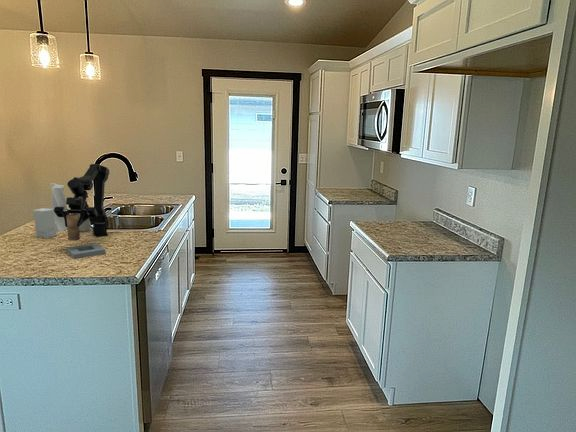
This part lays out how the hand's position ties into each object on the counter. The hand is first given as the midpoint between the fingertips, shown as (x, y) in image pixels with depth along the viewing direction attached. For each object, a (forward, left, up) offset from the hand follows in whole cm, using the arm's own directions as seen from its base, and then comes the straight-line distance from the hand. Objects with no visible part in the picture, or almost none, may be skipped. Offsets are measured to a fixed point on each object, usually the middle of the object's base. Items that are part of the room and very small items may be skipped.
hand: (71, 226), depth 194 cm
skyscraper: (-6, -54, -14) cm, 56 cm away
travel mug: (-16, -46, -14) cm, 51 cm away
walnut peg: (-1, -1, -7) cm, 7 cm away
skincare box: (+4, -41, -14) cm, 44 cm away
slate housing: (-5, +2, -13) cm, 14 cm away
